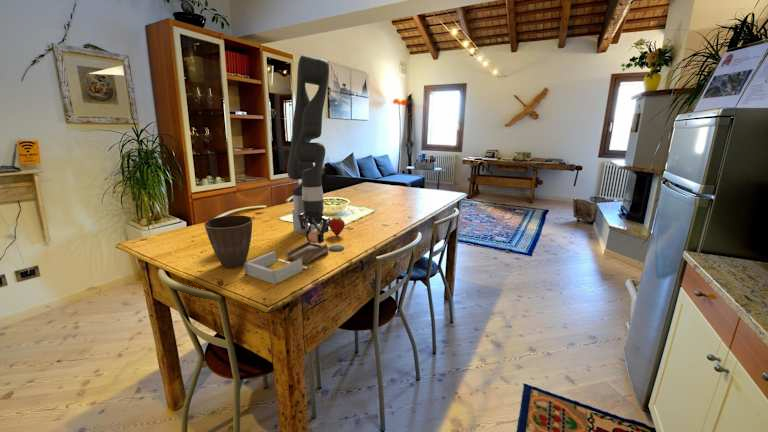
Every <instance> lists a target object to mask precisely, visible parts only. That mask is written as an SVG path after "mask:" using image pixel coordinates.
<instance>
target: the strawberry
mask: <svg viewBox="0 0 768 432" xmlns="http://www.w3.org/2000/svg"><path fill="white" fill-rule="evenodd" d="M338 215H339V214H337V217H336V216H335V217H334V216H333V217H332V218H330V223H329V229H330V230H331V232H333V234H334V235H335V236H339V235H340V234H341V233H342V232H343V230H344V229H345V225H346V224H345V221H344V219H343V218H342V217H341V216H338Z"/></svg>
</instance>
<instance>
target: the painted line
mask: <svg viewBox="0 0 768 432" xmlns="http://www.w3.org/2000/svg"><path fill="white" fill-rule="evenodd" d="M277 261H278V262H282V263H285V264H289V263H291V262H292V261H288V260H284V259H281V258H277ZM302 268H303V269H305V270H306V269H308V268H309V267H308V266H304V265H302Z"/></svg>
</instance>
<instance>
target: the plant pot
mask: <svg viewBox="0 0 768 432" xmlns="http://www.w3.org/2000/svg"><path fill="white" fill-rule="evenodd" d="M204 227H205V230H206V235H207V237H208V240H209V243H210V245H211V247H212V249H213V252H214V254H215V255H216V257H217V259H218V261H219V263H220V264H221V266H222V267H223V268H225V269H236V268H237V269H238V268H240V267H243V266H245V265H244V263H245V262H247V259H248V255H249V251H250V246H251V241H252V240H251V239H252V234H253V233H252V232H253V217H250V216H249V215H248V216H247V215H242V214H241V215H240V214H236V215H232V214H231V215H225V216H218V217H214V218H211V219H208V220H206V221H205V222H204Z"/></svg>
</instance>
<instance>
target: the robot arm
mask: <svg viewBox="0 0 768 432" xmlns="http://www.w3.org/2000/svg"><path fill="white" fill-rule="evenodd" d="M329 76H330V64H329V62H328V60H326V59H323V58H318V57H314V56H310V55H304V54H303V55H301V56H300V57H299V60H298V63H297V79H296V98H295V105H294V106H295V107H294V112H293V118H292V119H293V121H292V133H291V142H290V149H289V154H288V159H287V166H286V167H287V169H286V170H287V171H286V172H287V176H288V178H289V179H291V180H292V181H293V180H296V181H297V180H301V183H299V184H298V185H296V186H294V187H293V188H292V203H293V209H292V222H293V223H292V225H293V226H292V227H293V231H295V232H296V233H298V234H305V239H306V242H307V241H310V240H309V239H308V234H309V232H310V231H312V230H317V232H318V242H317V244H321V245H322V244H323V243H324V242H325V235H324V234H326V233H328V232H329V229H330V227H329V223H330V220H331V217H329V216H328V217H326V216H325V215H324V213H323V212H324V209H325V208H324V191H323V185H322V184H323V183H322V182H323V180H322V177H323V176H322V175H323V165H324V161H325V159H326V158H325V157H326V148H325V146H324V144H323V143H321V142H311V141H312V140H315V139H318V138H321V136H322V129H323V128H322V127H323V112H324V107H325V101H326V97H327V96H326V95H327V91H328V90H327V88H328V83H329ZM306 84H309V85H314V86H315V85H316V86H318V87H317V91H316V92H315V94H314V96H313V97H312V99H311V100H310V98H309V95H308V93H307V89H306V88H307V87H306Z"/></svg>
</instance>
